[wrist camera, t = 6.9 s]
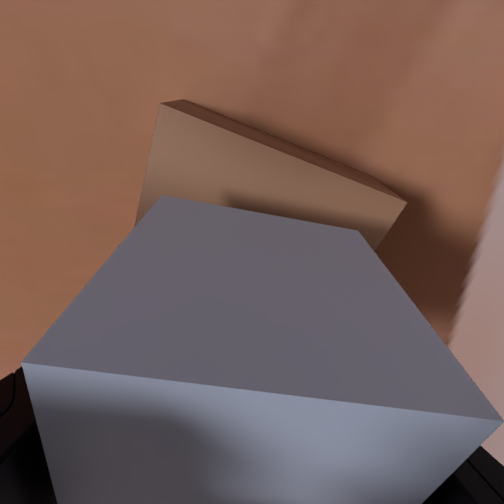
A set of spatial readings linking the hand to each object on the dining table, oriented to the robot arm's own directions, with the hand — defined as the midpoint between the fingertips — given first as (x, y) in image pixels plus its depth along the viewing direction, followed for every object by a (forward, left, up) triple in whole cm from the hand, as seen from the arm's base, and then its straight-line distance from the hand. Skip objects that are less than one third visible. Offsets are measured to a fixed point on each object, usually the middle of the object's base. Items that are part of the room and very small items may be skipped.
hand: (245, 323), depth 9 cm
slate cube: (0, 0, -2) cm, 2 cm away
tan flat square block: (0, 0, -7) cm, 7 cm away
